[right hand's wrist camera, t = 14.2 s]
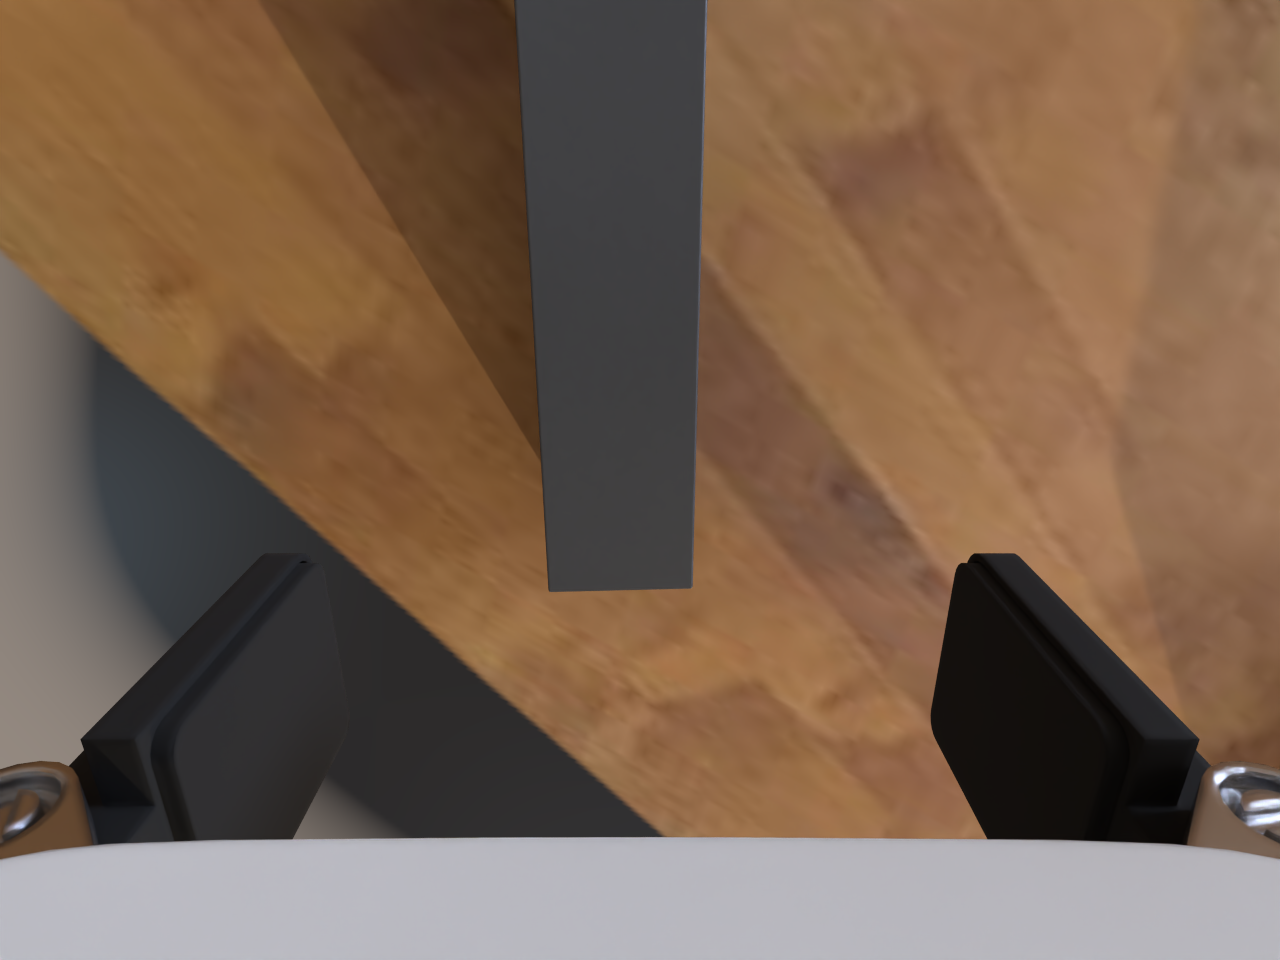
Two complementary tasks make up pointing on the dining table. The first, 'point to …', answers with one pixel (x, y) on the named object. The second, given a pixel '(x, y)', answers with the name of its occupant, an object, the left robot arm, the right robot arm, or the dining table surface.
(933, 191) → the dining table surface
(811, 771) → the dining table surface
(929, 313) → the dining table surface
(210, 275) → the dining table surface
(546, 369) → the beam
